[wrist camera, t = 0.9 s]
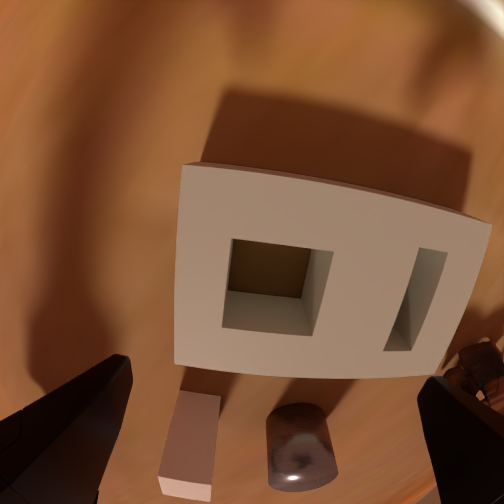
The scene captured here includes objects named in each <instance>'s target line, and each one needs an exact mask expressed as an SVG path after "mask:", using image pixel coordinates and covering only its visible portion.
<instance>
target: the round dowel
mask: <svg viewBox="0 0 504 504" xmlns="http://www.w3.org/2000/svg"><path fill="white" fill-rule="evenodd" d="M266 437H267V460H268V483H269V485H270V486H271V487H272V488H274V489H276V490H280V491H285V492H301V491H308V490H312V489H316V488H319V487H322V486H324V485H326V484H328V483H330V482H331V481H333V480H334V479H335V478H336V477H337V475H338V469H337V465H336V460H335V456H334V451H333V447H332V443H331V438H330V434H329V430H328V426H327V421H326V417H325V413H324V411H323V410H322V409H321V408H320V407H318V406H317V405H314V404H310V403H293V404H288V405H285V406H282V407H280V408H278V409H276V410H274V411H273V412H272V413H270V415H269V416H268V417H267V420H266Z"/></svg>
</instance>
